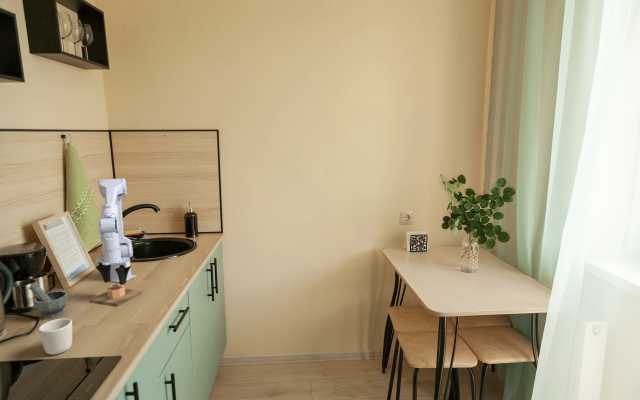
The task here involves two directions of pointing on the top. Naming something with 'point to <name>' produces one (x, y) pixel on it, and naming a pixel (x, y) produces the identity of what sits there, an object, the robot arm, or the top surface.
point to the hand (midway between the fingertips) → (115, 282)
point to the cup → (56, 335)
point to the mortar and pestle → (49, 302)
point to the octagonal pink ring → (116, 292)
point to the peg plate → (116, 301)
